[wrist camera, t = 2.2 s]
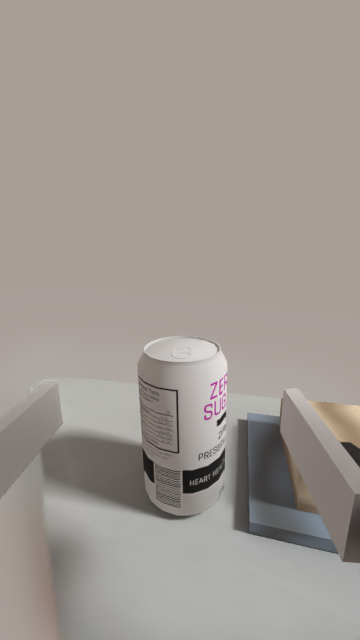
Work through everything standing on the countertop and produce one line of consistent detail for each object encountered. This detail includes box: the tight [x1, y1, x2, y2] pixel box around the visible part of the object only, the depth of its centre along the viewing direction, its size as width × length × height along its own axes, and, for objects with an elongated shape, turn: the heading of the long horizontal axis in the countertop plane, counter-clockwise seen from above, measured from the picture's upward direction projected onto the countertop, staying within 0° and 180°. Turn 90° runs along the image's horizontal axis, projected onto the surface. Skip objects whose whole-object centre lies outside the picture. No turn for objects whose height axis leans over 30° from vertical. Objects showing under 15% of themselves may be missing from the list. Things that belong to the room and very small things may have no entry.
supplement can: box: [138, 336, 227, 516], centre depth 25 cm, size 8×8×15 cm
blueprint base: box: [247, 398, 360, 554], centre depth 26 cm, size 20×16×5 cm
